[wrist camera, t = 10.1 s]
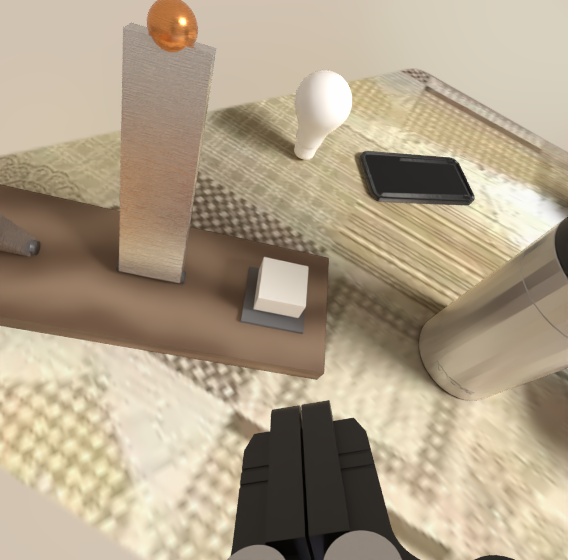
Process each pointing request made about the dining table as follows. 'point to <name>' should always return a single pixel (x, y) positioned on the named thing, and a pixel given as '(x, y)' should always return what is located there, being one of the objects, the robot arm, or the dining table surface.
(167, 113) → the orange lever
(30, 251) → the grey upright post
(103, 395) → the dining table surface
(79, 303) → the walnut panel
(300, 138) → the lightbulb
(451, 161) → the phone
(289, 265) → the white button
